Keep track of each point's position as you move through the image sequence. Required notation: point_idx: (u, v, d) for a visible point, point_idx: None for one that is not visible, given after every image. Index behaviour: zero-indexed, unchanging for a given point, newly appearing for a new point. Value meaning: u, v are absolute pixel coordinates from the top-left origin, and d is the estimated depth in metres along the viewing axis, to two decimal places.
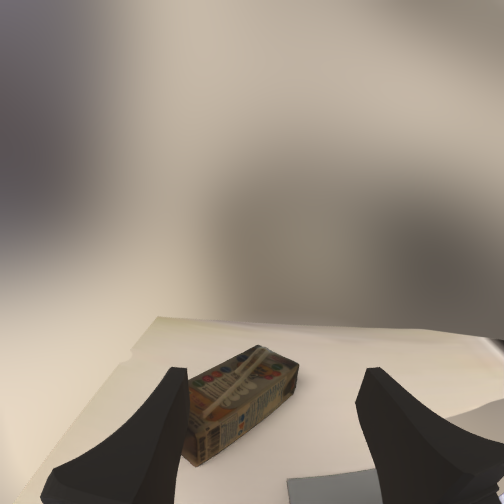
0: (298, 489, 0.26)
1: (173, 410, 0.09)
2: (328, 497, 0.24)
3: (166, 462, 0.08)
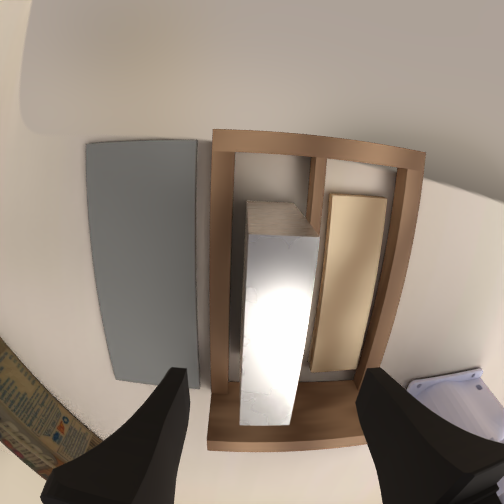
0: (131, 373, 0.23)
1: (173, 410, 0.09)
2: (144, 346, 0.22)
3: (166, 462, 0.08)
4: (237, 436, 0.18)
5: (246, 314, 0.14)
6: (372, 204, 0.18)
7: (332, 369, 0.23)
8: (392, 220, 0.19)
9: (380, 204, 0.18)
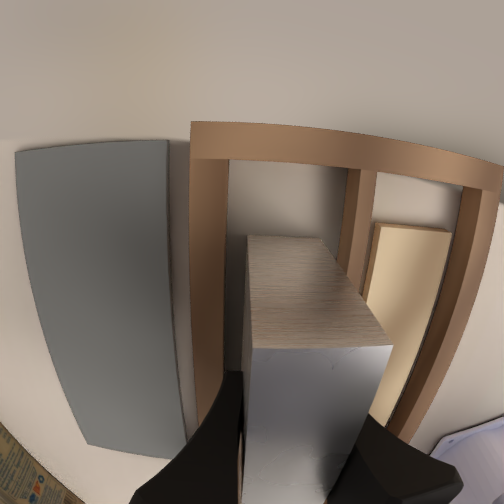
0: (104, 440, 0.16)
1: (239, 414, 0.09)
2: (116, 416, 0.15)
3: None
4: None
5: (248, 455, 0.07)
6: (432, 240, 0.12)
7: None
8: (453, 260, 0.12)
9: (443, 241, 0.12)
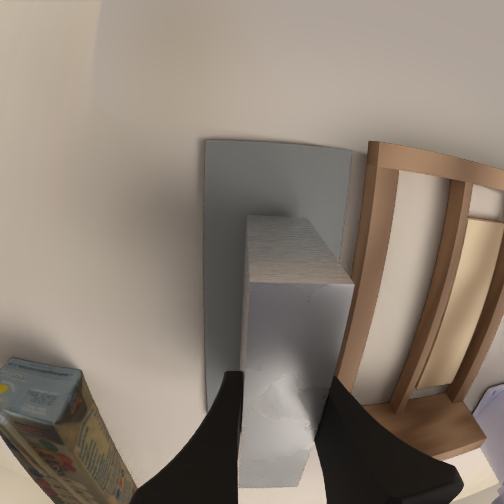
0: None
1: (239, 414, 0.09)
2: None
3: None
4: None
5: (246, 383, 0.09)
6: (494, 228, 0.16)
7: (433, 385, 0.20)
8: None
9: (499, 229, 0.16)
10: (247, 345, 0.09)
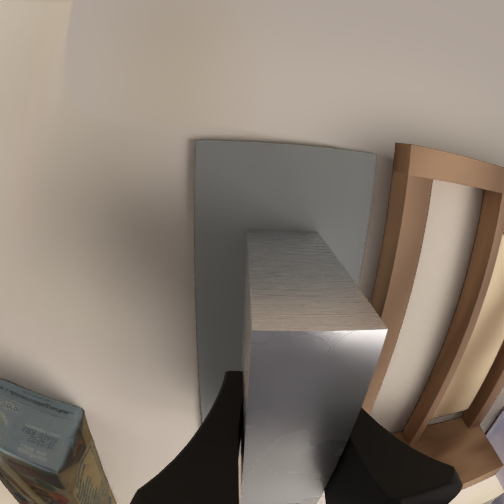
0: None
1: (240, 414, 0.09)
2: None
3: None
4: None
5: (247, 441, 0.07)
6: None
7: (449, 412, 0.17)
8: None
9: None
10: (248, 402, 0.07)
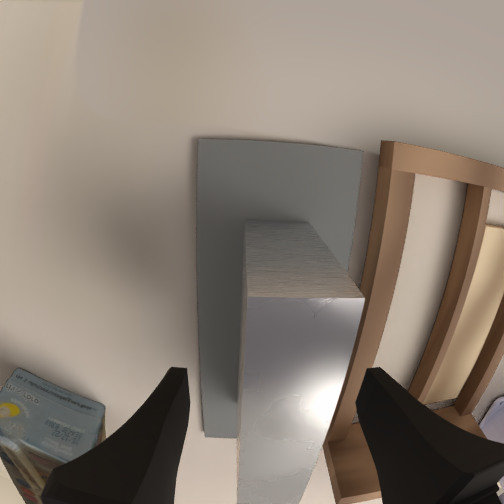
0: (228, 429, 0.18)
1: (173, 410, 0.09)
2: None
3: (166, 462, 0.08)
4: (370, 486, 0.14)
5: (244, 404, 0.08)
6: None
7: (438, 400, 0.18)
8: None
9: None
10: (245, 365, 0.08)
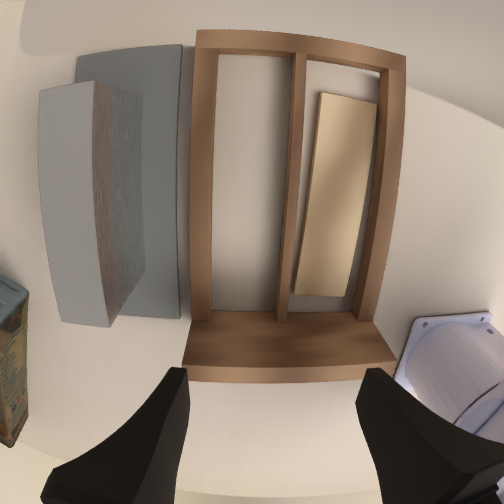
0: None
1: (173, 410, 0.09)
2: None
3: (166, 462, 0.08)
4: (218, 360, 0.17)
5: (39, 170, 0.11)
6: (362, 107, 0.17)
7: (318, 293, 0.21)
8: (379, 122, 0.18)
9: (370, 108, 0.17)
10: (38, 135, 0.11)
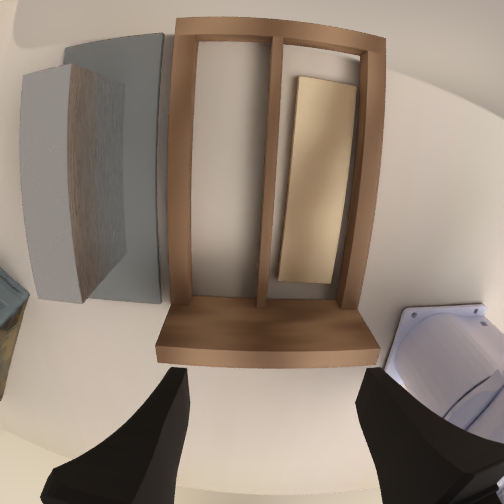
0: None
1: (173, 410, 0.09)
2: None
3: (166, 462, 0.08)
4: (192, 342, 0.17)
5: (20, 149, 0.11)
6: (341, 89, 0.17)
7: (303, 280, 0.21)
8: (360, 105, 0.18)
9: (349, 90, 0.17)
10: (20, 117, 0.11)
